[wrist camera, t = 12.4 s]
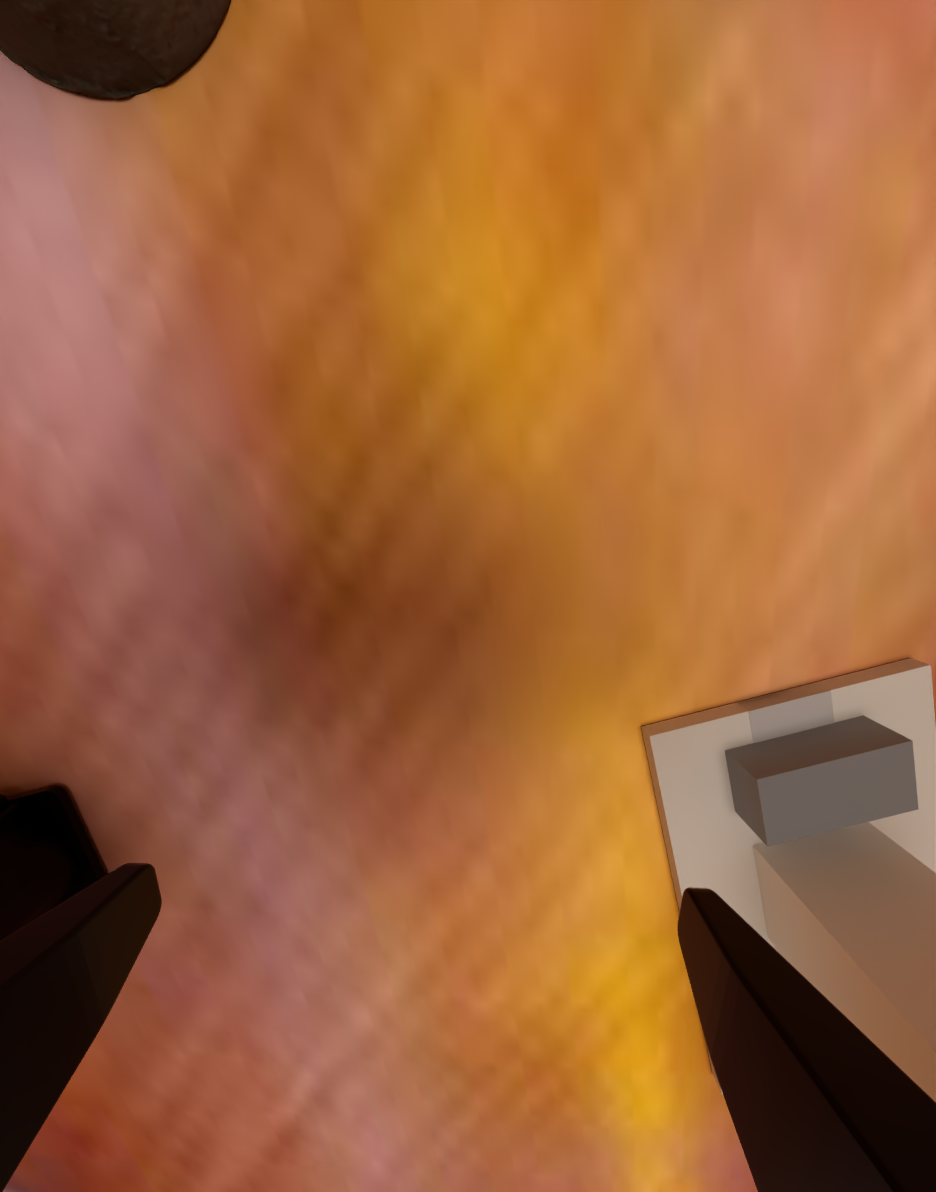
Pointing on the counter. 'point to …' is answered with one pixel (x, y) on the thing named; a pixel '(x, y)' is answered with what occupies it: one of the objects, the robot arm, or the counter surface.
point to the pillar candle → (107, 41)
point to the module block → (860, 935)
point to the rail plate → (728, 834)
